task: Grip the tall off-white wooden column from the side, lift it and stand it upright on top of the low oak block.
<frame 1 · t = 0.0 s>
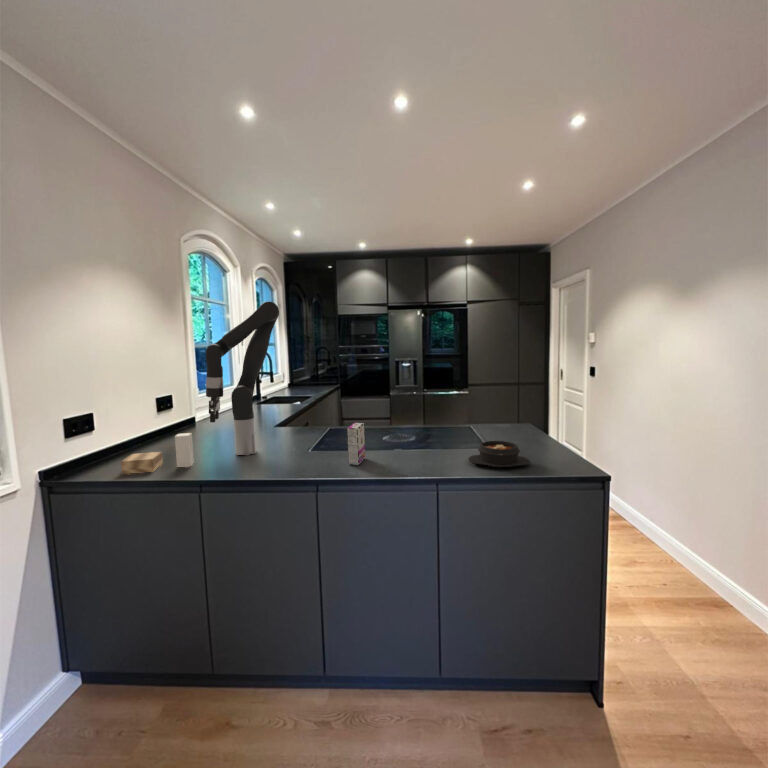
hand: (214, 420, 191), 17 cm above the table, tool pointing down, fingers open, 8 cm apart
casserole: (498, 464, 169), on the table
oak block: (143, 469, 174), on the table
candy bar box: (357, 462, 177), on the table
off-white column: (185, 465, 177), on the table
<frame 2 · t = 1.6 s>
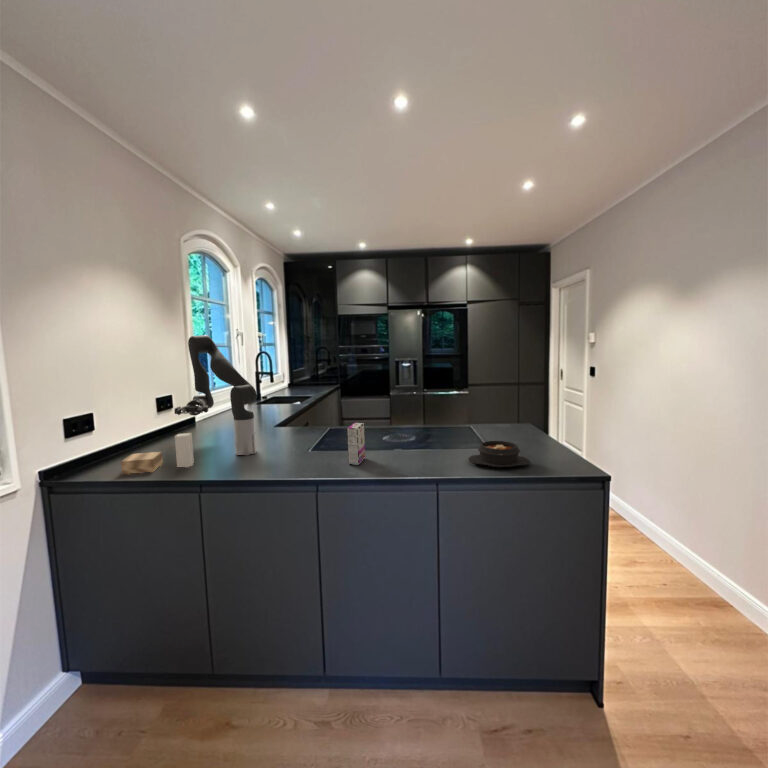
hand: (188, 412, 186), 22 cm above the table, tool horizontal, fingers open, 8 cm apart
nothing on the table moved.
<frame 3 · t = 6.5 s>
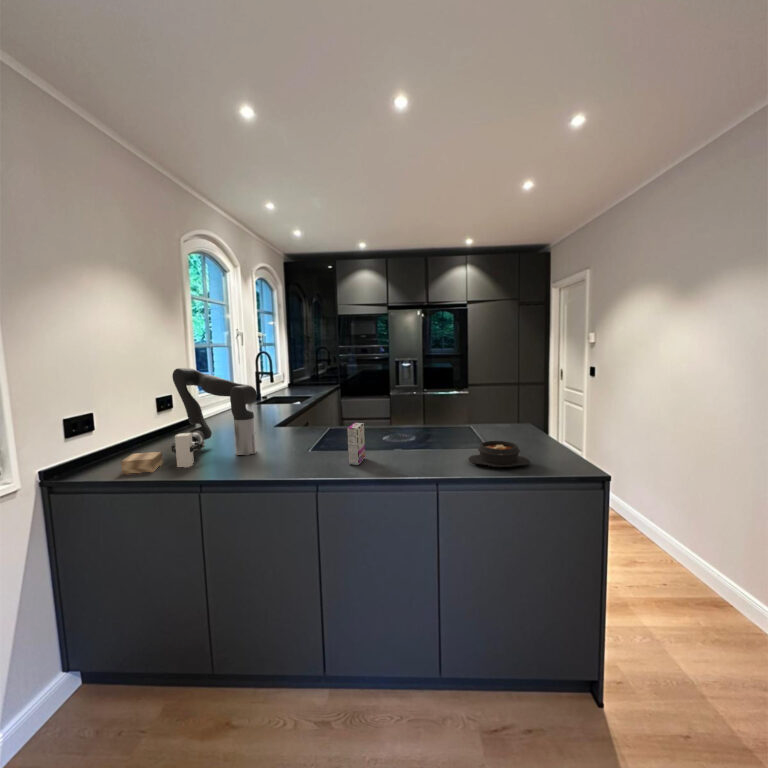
hand: (183, 450, 174), 8 cm above the table, tool horizontal, fingers closed on off-white column, 5 cm apart
off-white column: (185, 465, 177), on the table, touching gripper
everything else where it was.
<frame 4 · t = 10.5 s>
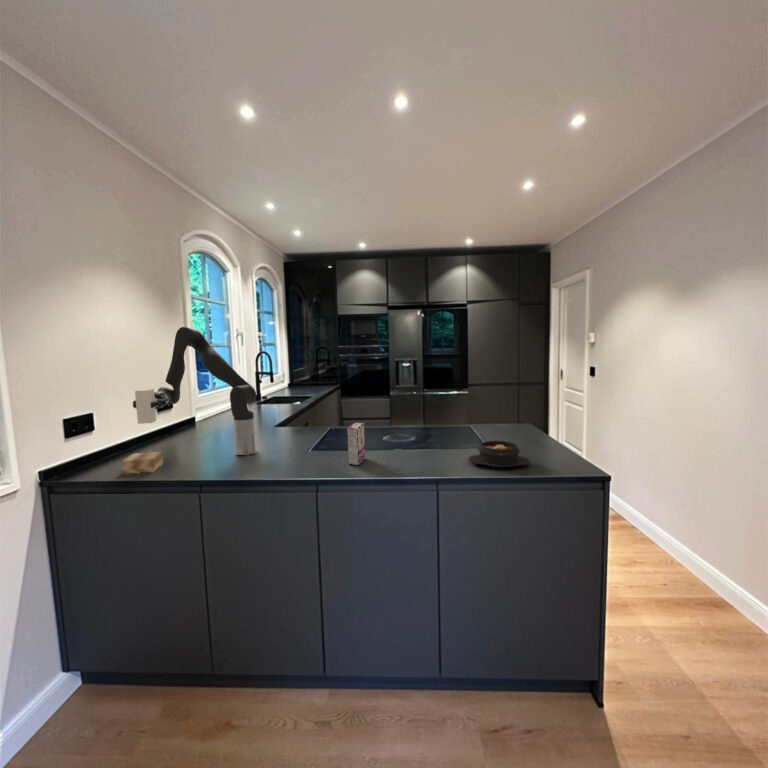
hand: (143, 405, 170), 28 cm above the table, tool horizontal, fingers closed on off-white column, 5 cm apart
off-white column: (147, 422, 173), point 20 cm above the table, touching gripper
everything else where it was.
when the fingers open (15 cm above the table, at t = 14.5 s): off-white column drops 1 cm, resting on oak block.
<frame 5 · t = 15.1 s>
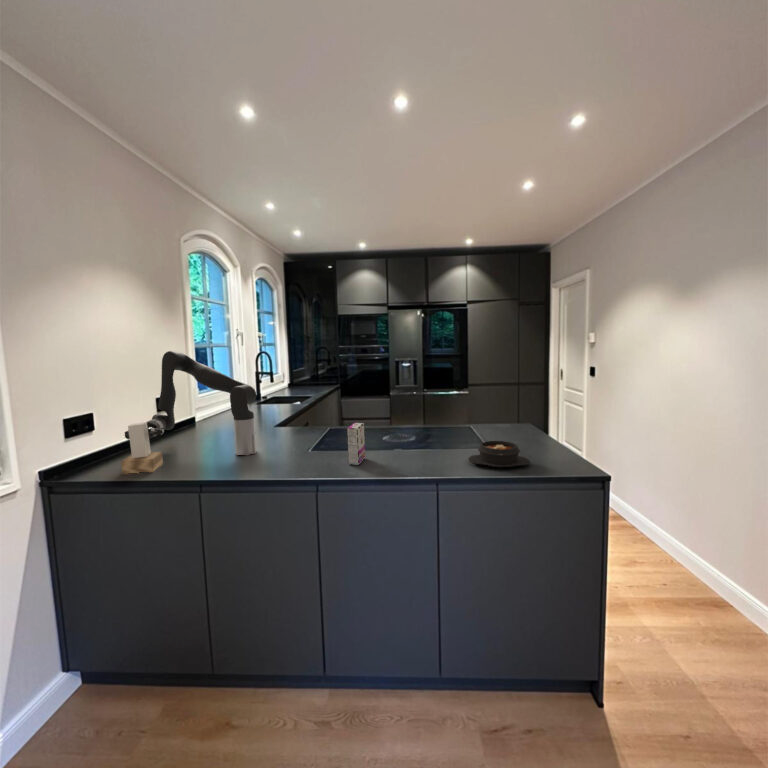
hand: (138, 436, 170), 15 cm above the table, tool horizontal, fingers open, 8 cm apart
oak block: (143, 469, 174), on the table, touching off-white column
off-white column: (141, 456, 173), point 6 cm above the table, touching oak block
everything else where it was.
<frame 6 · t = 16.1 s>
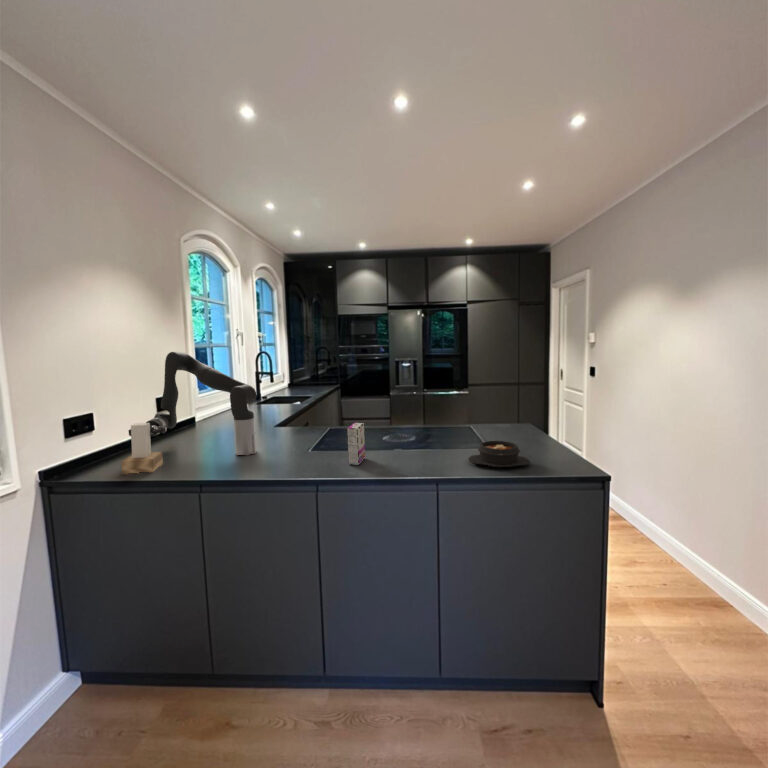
hand: (142, 434, 175), 15 cm above the table, tool horizontal, fingers open, 8 cm apart
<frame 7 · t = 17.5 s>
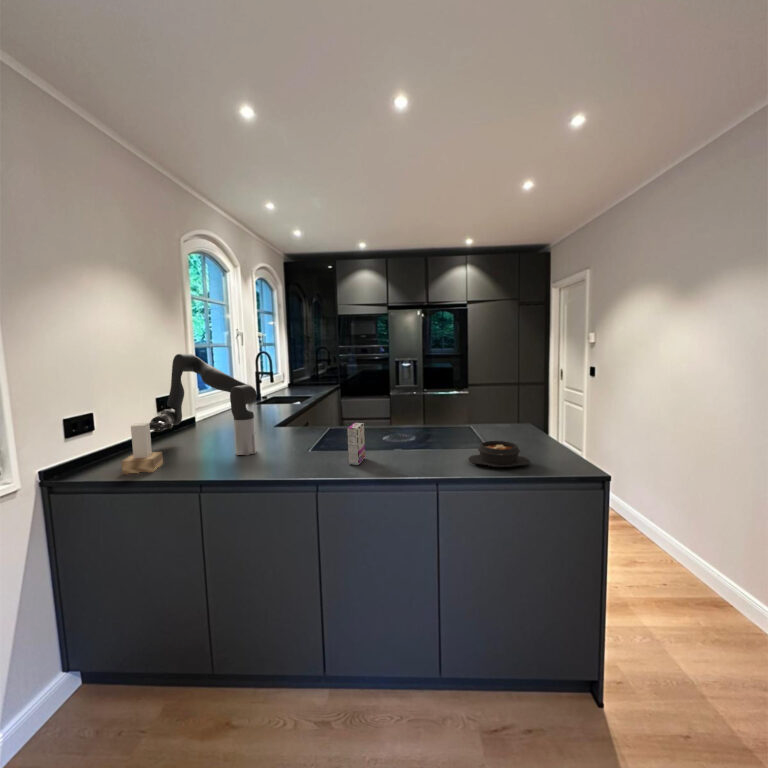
hand: (149, 429, 183), 15 cm above the table, tool horizontal, fingers open, 8 cm apart
nothing on the table moved.
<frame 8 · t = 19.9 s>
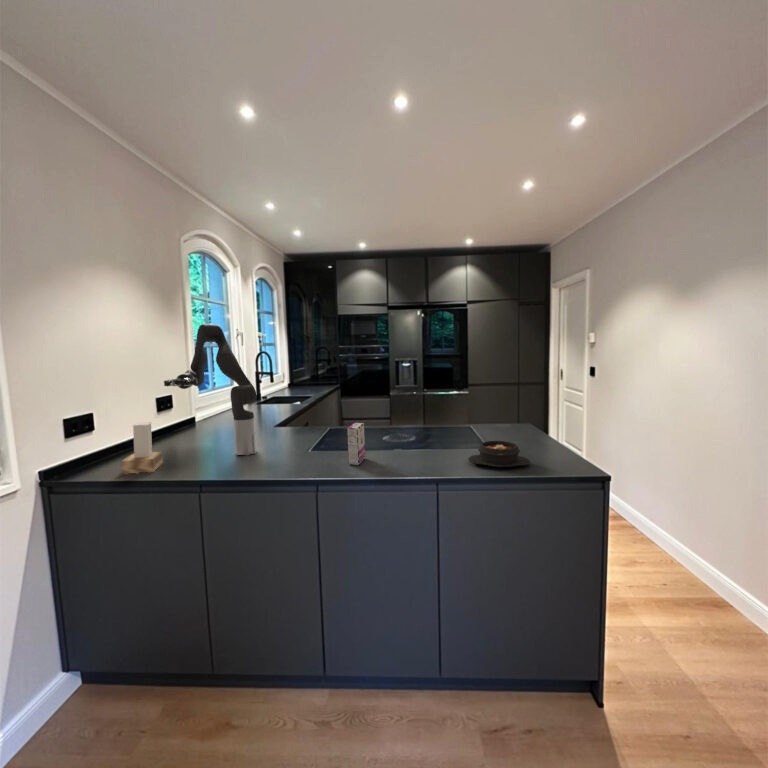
hand: (177, 383, 191), 35 cm above the table, tool horizontal, fingers open, 8 cm apart
oak block: (143, 469, 174), on the table
off-white column: (143, 455, 174), point 6 cm above the table
everything else where it was.
at the end: off-white column 0.4 cm off-centre on the oak block, point 6.1 cm above the oak block's base; off-white column tilted 2°; the gripper is holding nothing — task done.
